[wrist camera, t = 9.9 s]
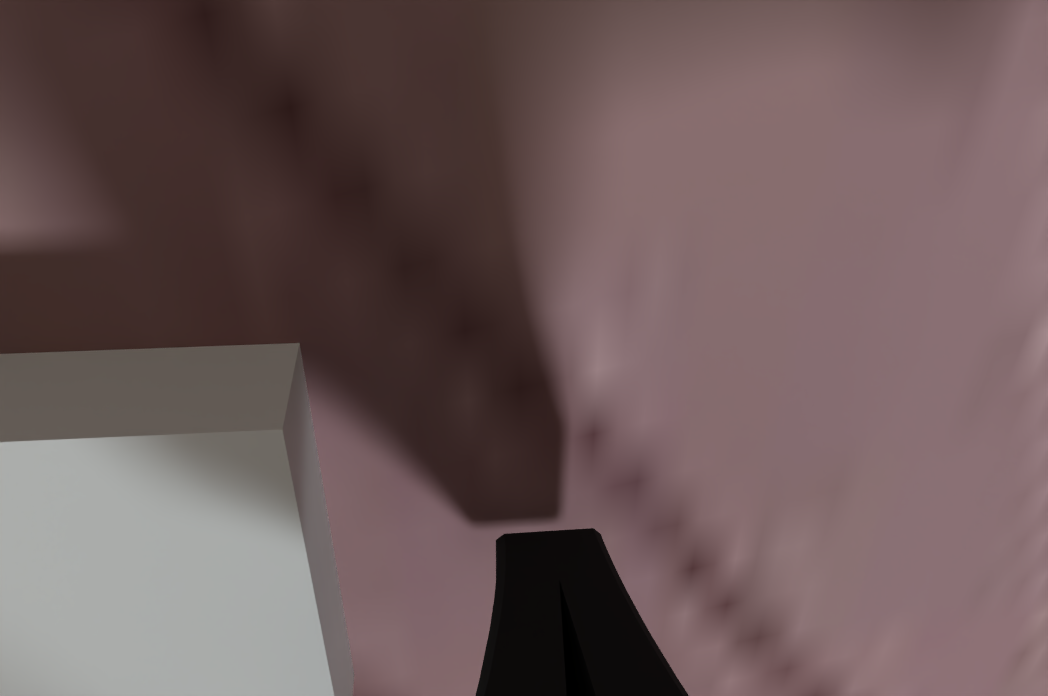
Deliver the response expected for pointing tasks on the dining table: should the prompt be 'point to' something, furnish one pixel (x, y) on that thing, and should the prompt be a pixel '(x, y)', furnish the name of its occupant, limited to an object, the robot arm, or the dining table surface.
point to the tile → (165, 527)
